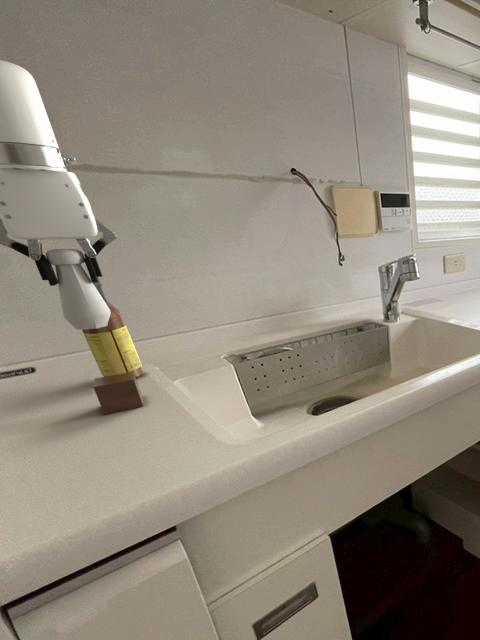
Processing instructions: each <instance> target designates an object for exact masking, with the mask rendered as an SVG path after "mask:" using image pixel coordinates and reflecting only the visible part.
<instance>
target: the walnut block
mask: <svg viewBox="0 0 480 640" xmlns="http://www.w3.org/2000/svg"><path fill="white" fill-rule="evenodd" d="M93 390H94V392H95V395H96V397H97V400H98V402H99V405H100V408H101V410H102V412H103V414H104V415H110V414H113V413H118V412H124V411H128V410H132V409H136V408H140V407H144V399H143V395H142V392H141V389H140V386H139V384H138V381H137V378H135V375H134V372H128V373H123V374H117V375H112V376H106V377H104V376H101V377H95V378H94V382H93Z"/></svg>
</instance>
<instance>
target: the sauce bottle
mask: <svg viewBox="0 0 480 640" xmlns="http://www.w3.org/2000/svg"><path fill="white" fill-rule="evenodd" d="M89 278H90V277H89ZM90 280H91V278H90ZM91 281H92V280H91ZM92 283H93V284H94V286H95V287H96V289H97V291H98V292H99V294H100V295H101V297H102V298H103V300H104V301H105V303H106V304H107V306H108V308H109V309H110V312H111V314H110V317H109V320H108V325H107V326H105V327H101V328H96V329H86V330H81V331H82V333H83V335H84V338H85V340H86V343H87V345H88V347H89V349H90V352H91V354H92V356H93V359H94V361H95V362H96V364H97V367H98V369H99V372H100V374H101V375H102V377H106V376H112V375H117V374H123V373H128V372H134V375H135V378H136V379H137V378H140V377H141V376H142V375H144V369H143V364H142V361H141V359H140V356H139V355H138V352H137V349H136V347H135V345H134V342H133V339H132V336H131V333H130V331H129V329H128V327H127V324H125V322H124V319H123V316H122V315H121V312H120V311H119V309H117V308H116V307H115V306H114V305H113V304H111V302H110V301H108V298H106V296H105V293H104V290H103V288H102V284H103V283H102V282H101V280H100V279H99V282H97V283H94V282H92Z"/></svg>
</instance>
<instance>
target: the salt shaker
mask: <svg viewBox="0 0 480 640" xmlns="http://www.w3.org/2000/svg"><path fill="white" fill-rule="evenodd" d="M45 256H46V259H47V260H48V262H49V263H50V264H51V265H52V266H54V267H55V272H56V273H55V275H56V277H57V280H58V284H57V286H58V291H59V298H60V303H61V310H62V316H63V318H64V319H65V320H66V321H67V322H68V323H69V324H70V325H71V327H73V328H74V329H75V330H80V331H82V330H86V329H96V328H101V327H105V326H107V325H108V320H109V317H110V314H111V312H110V309H109V308H108V306H107V304H106V303H105V301H104V300H103V298H102V297H101V295H100V294H99V292H98V291H97V289H96V287H95V286H94V284H93V283H92V281H91V280H90V276H89V274H88V273H87V272H86V270H85V269H84V268H83V266H82V264H84V263H85V261H84V259H85V256H84V253H83V252H82V251H81V250H79V249H75V248H54V249H53V248H52V249H50V250H47V251H46V252H45Z"/></svg>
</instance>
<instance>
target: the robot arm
mask: <svg viewBox="0 0 480 640" xmlns="http://www.w3.org/2000/svg"><path fill="white" fill-rule="evenodd" d="M72 165H77V166H78V163H77V160H76V157H75V155H74V154H68V153H64V152H63V151H61V150H60V147H59V145H58V142H57V138H56V136H55V132H54V130H53V128H52V124H51V121H50V118H49V116H48V114H47V110H46V107H45V105H44V102H43V99H42V96H41V94H40V91H39V87H38V86H37V83H36V80H35V78H34V77H33V75H32V74H31V73H30V72H29V71H28V70H27V69H25V68H24V67H22V66H20V65H18V64H16V63H13V62H9V61H7V60H3V59H0V245H1V246H3V247H7V248H8V249H11V250H14V251H16V252H18V253H20V254H22V255H24V256H26V257H27V258H30V259H31V260H32V261H34V263H35V265H36V266H35V267H36V268H37V271H38V273H39V275H40V279H41V280H42V281H47V282H48V284H49V286H50V287H54V286H58V280H57V274H56V273H55V272H56V271H55V270H54V268H53V265H52V264H50V263H49V262H48V260H47V258H46V254H44V249H43V240H45V241H46V240H76V242H77V243H78V244H79V246H80V248H81V249H82V250H83V252H84V253H83V255H84V257H85V259H84V261H85V262H84V263H85V267H86V269H87V272H88V276H89V278H91V280H92V282H94V283H97V282H99V280H100V278H102V277H103V273H102V270H101V268H100V265H99V262H98V259H97V256H98V255H99V254H100V253H101V251H102V250H104V248H105V247H106V246H108V245H110V244H111V243H112V242H114V241H116V240H117V238H118V235H117V234H116V233H115V232H113V231H112V230H111V229H110V228H108V227H107V226H106V225H105V224H103V222H102V221H100V220H98V218H96V217H95V214H94V211H93V209H92V207H91V203H90V202H89V199H88V197H87V194H86V192H85V190H84V188H83V186H82V183H81V182H80V180H79V179H78V177H77V176H76V174H75V173H74V172H72V171H68V169H67V167H68V166H72ZM99 233H101V234H102V236H101V237H100V238H98V239H97V240H96V241H95V242H94V243H93V244H92V243H91V241H90V239H92V238H95V237H96V236H97V235H99ZM9 236H10V237H12V238H14V239H12V238H10V237H9ZM15 239H18V240H24V241H25V240H26V241H27V245H26V244H24V243H22V242H21V241H17V240H15Z"/></svg>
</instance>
